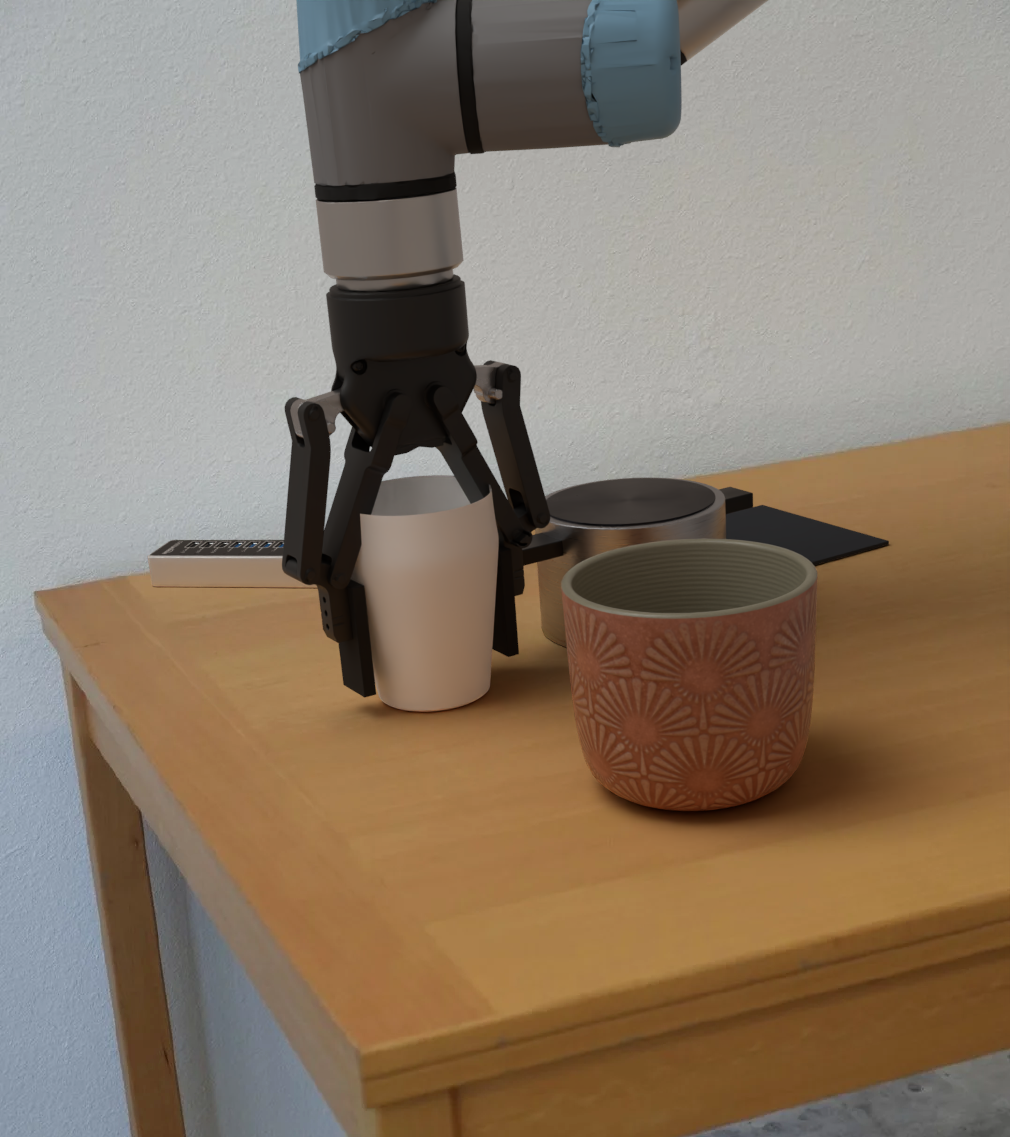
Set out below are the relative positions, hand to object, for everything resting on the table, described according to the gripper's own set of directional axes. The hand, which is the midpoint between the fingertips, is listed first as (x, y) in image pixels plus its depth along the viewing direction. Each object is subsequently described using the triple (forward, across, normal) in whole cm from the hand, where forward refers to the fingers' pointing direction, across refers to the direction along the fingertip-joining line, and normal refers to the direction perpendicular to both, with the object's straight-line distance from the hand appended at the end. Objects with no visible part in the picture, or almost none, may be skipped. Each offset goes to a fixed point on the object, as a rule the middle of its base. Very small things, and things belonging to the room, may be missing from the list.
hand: (432, 669), depth 100 cm
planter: (+2, -4, +20) cm, 20 cm away
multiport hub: (+2, -1, -30) cm, 30 cm away
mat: (+1, -32, -10) cm, 34 cm away
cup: (+2, 0, 0) cm, 2 cm away
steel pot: (+1, -16, -2) cm, 16 cm away
